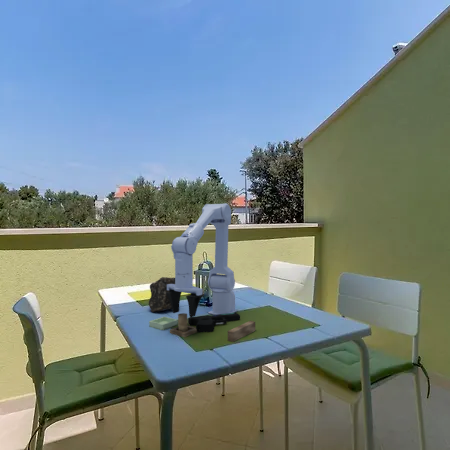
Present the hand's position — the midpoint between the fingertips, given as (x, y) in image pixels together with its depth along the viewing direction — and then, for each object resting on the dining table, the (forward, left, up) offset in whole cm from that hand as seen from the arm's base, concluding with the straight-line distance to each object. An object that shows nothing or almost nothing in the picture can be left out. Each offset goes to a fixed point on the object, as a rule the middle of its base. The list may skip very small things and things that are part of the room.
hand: (184, 314), depth 104 cm
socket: (0, 0, -6) cm, 6 cm away
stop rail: (-9, +17, -6) cm, 20 cm away
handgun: (-13, +5, -7) cm, 15 cm away
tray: (-1, -11, -6) cm, 12 cm away
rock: (-16, -27, -6) cm, 32 cm away
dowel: (0, 0, -6) cm, 6 cm away
